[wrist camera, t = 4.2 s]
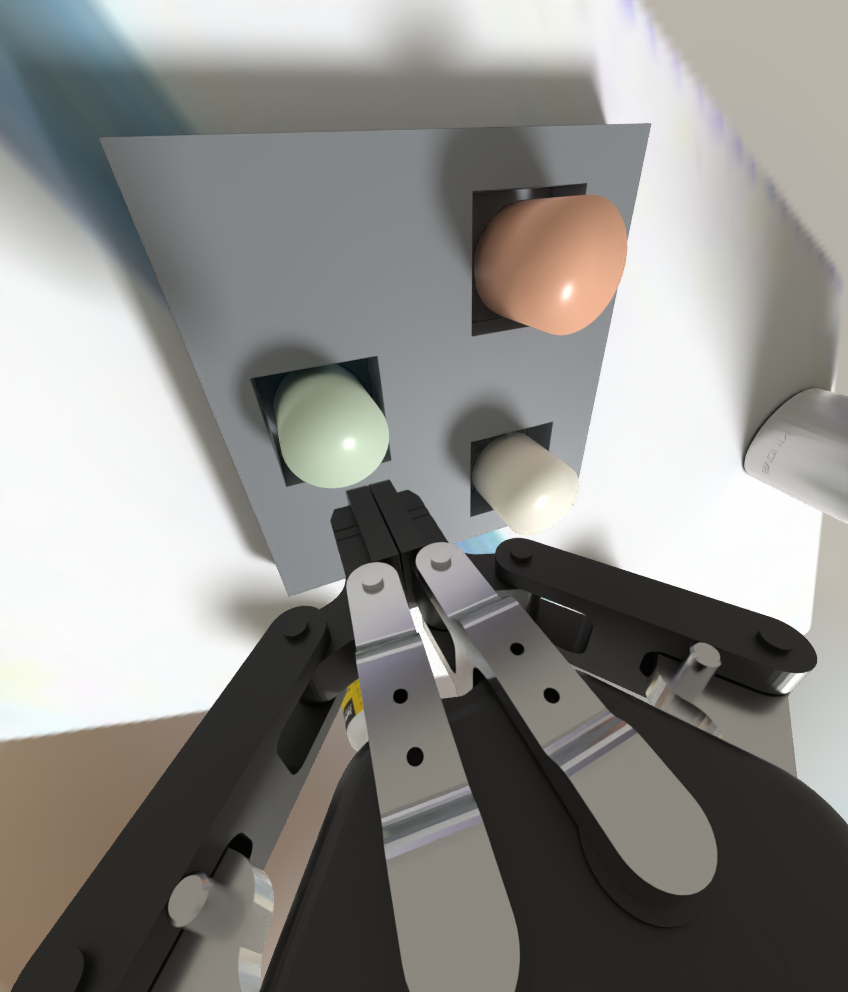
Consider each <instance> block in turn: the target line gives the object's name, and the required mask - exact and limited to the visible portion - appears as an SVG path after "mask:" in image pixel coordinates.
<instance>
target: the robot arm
mask: <svg viewBox="0 0 848 992" xmlns="http://www.w3.org/2000/svg"><path fill="white" fill-rule="evenodd" d="M744 468H745V471H746V473H747V474H748V475H750V476H752V477H754V478H756V479H758V480H760V481H762V482H764V483H766V484H768V485H770V486H772V487H774V488H776V489H778V490H780V491H782V492H784V493H786V494H788V495H790V496H792V497H794V498H796V499H798V500H800V501H802V502H804V503H806V504H808V505H810V506H812V507H814V508H816V509H818V510H820V511H822V512H824V513H826V514H828V515H830V516H832V517H834V518H836V519H838V520H840V521H842V522H844V523H846V524H848V397H847V396H844V395H840V394H837V393H834V392H830V391H827V390H823V389H820V388H811V389H807V390H804V391H802V392H800V393H798V394H797V395H795V396H794V397H792V398H791V399H789V400H788V401H787V402H785V403H784V404H783V405H782V406H781V407H779V408H778V409H777V410H776V411H775V412H774V413H773V414H772V415H771V416H770V418H769V419H768V420H767V421H766V422H765V424H764V425H763V426H762V427H761V429H760V430H759V432H758V433H757V435H756V436H755V438H754V439H753V441H752V443H751V445H750V447H749V449H748V452H747V454H746V458H745V464H744ZM346 497H347V501H348V505H349V506H345V507H341V508H337V509H334V511H333V514H332V517H331V520H330V522H331V526H332V529H333V533H334V536H335V540H336V544H337V547H338V551H339V555H340V558H341V562H342V565H343V569H344V573H345V576H346V582H345V586H344V588H343V590H342V592H341V593H340V594H339V596H338V597H337V598H336V599H334V600H333V601H332V602H331V603H329V604H328V605H326V606H324V607H323V608H321V609H320V610H318V609H317V608H314V607H311V606H299V607H295V608H292V609H290V610H287V611H286V612H284V613H282V614H281V615H280V616H279V617H277V618H276V619H275V620H274V622H273V623H272V624H271V626H270V627H269V628H268V630H267V631H266V632H265V634H264V635H263V637H262V638H261V639H260V641H259V642H258V644H257V645H256V646H255V648H254V649H253V651H252V652H251V653H250V655H249V656H248V657H247V659H246V660H245V662H244V663H243V664H242V666H241V667H240V669H239V670H238V671H237V673H236V674H235V675H234V677H233V678H232V680H231V681H230V682H229V684H228V685H227V687H226V688H225V689H224V691H223V692H222V693H221V695H220V696H219V698H218V699H217V700H216V702H215V703H214V705H213V706H212V707H211V709H210V710H209V712H208V713H207V714H206V716H205V717H204V719H203V720H202V721H201V723H200V724H199V725H198V727H197V728H196V730H195V731H194V732H193V734H192V735H191V737H190V738H189V739H188V741H187V742H186V743H185V745H184V746H183V748H182V749H181V750H180V752H179V753H178V754H177V756H176V757H175V759H174V760H173V761H172V763H171V764H170V766H169V767H168V768H167V770H166V771H165V773H164V774H163V775H162V777H161V778H160V780H159V781H158V782H157V784H156V785H155V787H154V788H153V789H152V791H151V792H150V793H149V795H148V796H147V798H146V799H145V800H144V802H143V803H142V804H141V806H140V807H139V809H138V810H137V811H136V813H135V814H134V816H133V817H132V818H131V820H130V821H129V823H128V824H127V825H126V827H125V828H124V829H123V831H122V832H121V833H120V835H119V836H118V838H117V839H116V840H115V842H114V843H113V845H112V846H111V847H110V849H109V850H108V852H107V853H106V854H105V856H104V857H103V858H102V860H101V861H100V863H99V864H98V865H97V867H96V868H95V870H94V871H93V872H92V874H91V875H90V876H89V878H88V879H87V881H86V882H85V883H84V885H83V886H82V888H81V889H80V890H79V892H78V893H77V895H76V896H75V897H74V899H73V900H72V902H71V903H70V904H69V906H68V907H67V908H66V910H65V911H64V913H63V914H62V915H61V917H60V918H59V919H58V921H57V922H56V924H55V925H54V927H53V928H52V929H51V931H50V932H49V933H48V935H47V936H46V938H45V939H44V940H43V942H42V943H41V945H40V946H39V947H38V949H37V950H36V952H35V953H34V954H33V955H32V957H31V958H30V960H29V961H28V963H27V964H26V966H25V967H24V969H23V970H22V972H21V974H20V975H19V977H18V979H17V981H16V983H15V984H14V986H13V988H12V990H11V992H848V824H847V823H846V822H845V821H844V819H843V818H842V817H841V816H840V815H839V814H838V813H837V812H836V811H835V810H834V809H833V808H832V807H831V806H830V805H829V804H828V803H827V802H826V801H825V800H824V799H823V798H822V797H821V796H819V795H818V794H817V793H816V792H815V791H814V790H812V789H811V788H810V787H808V786H807V785H806V784H804V783H803V782H802V781H801V780H799V779H798V778H797V772H796V764H795V755H794V746H793V737H792V729H791V720H790V712H789V702H788V695H789V694H790V693H791V691H792V690H793V689H794V688H795V687H796V686H797V685H798V684H799V683H800V682H801V681H802V680H803V679H804V678H805V677H806V676H807V675H808V674H809V673H810V672H811V670H812V669H813V668H814V667H815V666H816V664H817V655H816V652H815V650H814V648H813V647H812V645H811V644H810V642H809V641H808V640H807V639H806V638H805V637H804V636H803V635H802V634H801V633H799V632H798V631H797V630H795V629H794V628H792V627H791V626H789V625H788V624H786V623H784V622H782V621H780V620H777V619H775V618H772V617H769V616H766V615H763V614H759V613H756V612H753V611H750V610H747V609H744V608H741V607H738V606H735V605H731V604H728V603H725V602H722V601H719V600H716V599H713V598H710V597H706V596H703V595H700V594H697V593H694V592H691V591H688V590H685V589H682V588H678V587H675V586H672V585H669V584H666V583H663V582H660V581H657V580H654V579H650V578H647V577H644V576H641V575H638V574H635V573H632V572H629V571H625V570H622V569H619V568H616V567H613V566H610V565H607V564H604V563H601V562H597V561H594V560H591V559H588V558H585V557H582V556H579V555H576V554H572V553H569V552H566V551H563V550H560V549H557V548H554V547H551V546H548V545H544V544H541V543H538V542H535V541H532V540H529V539H524V538H512V539H508V540H505V541H504V542H502V543H501V544H499V546H498V547H497V549H496V552H495V554H467V553H464V552H463V551H462V550H461V549H460V548H459V547H458V546H456V545H454V544H451V543H449V542H448V541H447V539H446V538H445V536H444V534H443V533H442V531H441V530H440V528H439V527H438V525H437V523H436V522H435V520H434V519H433V517H432V516H431V515H430V512H429V511H428V509H427V508H426V507H425V504H424V503H423V501H422V500H421V498H420V497H419V496H418V495H417V494H415V493H413V492H412V491H410V490H404V491H400V492H397V491H396V489H395V488H394V486H393V484H392V482H391V481H390V479H388V480H384V481H380V482H377V483H373V484H369V485H368V486H367V485H365V486H361V487H358V488H354V489H350V490H346ZM541 597H542V598H545V599H548V600H550V601H553V602H555V603H558V604H561V605H563V606H566V607H568V608H571V609H574V610H576V611H579V612H581V613H583V614H585V615H587V616H585V615H582V614H579V613H577V612H574V611H572V610H569V609H566V608H564V607H561V606H559V605H556V604H553V603H551V602H548V601H546V600H543V599H541ZM417 606H418V608H419V610H420V612H421V614H422V620H423V627H424V629H425V631H426V633H427V635H428V637H429V639H430V641H431V642H432V644H433V646H434V648H435V650H436V652H437V653H438V655H439V657H440V659H441V661H442V663H443V665H444V666H445V668H446V670H447V672H448V674H449V676H450V677H451V679H452V681H453V684H454V686H455V689H456V692H457V696H458V697H452V698H444V699H441V698H440V695H439V692H438V688H437V686H436V682H435V679H434V676H433V673H432V670H431V667H430V664H429V661H428V658H427V655H426V651H425V648H424V645H423V642H422V639H421V637H420V635H419V633H417V632H416V630H415V627H414V623H413V620H412V617H411V614H410V611H409V609H411V608H414V607H417ZM408 607H409V608H408ZM569 663H570V664H572V665H574V666H576V667H579V668H581V669H583V670H586V671H588V672H590V673H592V674H594V675H596V676H599V677H601V678H603V679H605V680H608V681H610V682H612V683H614V684H617V685H619V686H621V687H623V688H626V689H628V690H630V691H632V692H635V693H637V694H639V695H641V696H643V697H646V698H648V700H649V702H650V704H651V705H650V704H648V703H646V702H644V701H642V700H640V699H638V698H636V697H634V696H631V695H630V694H627V693H625V692H623V691H621V690H619V689H617V688H615V687H613V686H611V685H609V684H607V683H605V682H603V681H601V680H599V679H597V678H594V677H592V676H590V675H588V674H586V673H583V672H580V671H578V670H575V669H573V668H572V666H571V665H570V664H569ZM358 678H359V682H360V689H361V695H362V701H363V707H364V714H365V720H366V726H367V733H368V739H369V740H368V741H367V742H366V743H365V744H364V745H363V746H362V747H361V748H360V750H359V751H358V752H357V753H356V755H355V756H354V757H353V759H352V760H351V761H350V763H349V764H348V766H347V768H346V769H345V771H344V773H343V775H342V777H341V779H340V781H339V783H338V785H337V788H336V790H335V793H334V795H333V798H332V800H331V803H330V806H329V808H328V811H327V814H326V817H325V819H324V822H323V824H322V827H321V829H320V832H319V835H318V837H317V840H316V843H315V845H314V848H313V851H312V853H311V856H310V859H309V861H308V864H307V867H306V869H305V872H304V875H303V877H302V880H301V882H300V885H299V888H298V890H297V893H296V895H295V898H294V901H293V903H292V906H291V909H290V912H289V914H288V917H287V919H286V922H285V924H284V927H283V930H282V932H281V935H280V938H279V940H278V943H277V946H276V948H275V951H274V953H273V956H272V959H271V961H270V964H269V967H268V969H267V972H266V974H265V977H264V980H263V982H262V981H261V959H262V952H263V947H264V942H265V940H266V936H267V933H268V930H269V927H270V924H271V920H272V915H273V907H274V894H273V888H272V885H271V882H270V880H269V878H268V876H267V874H266V873H265V872H264V871H263V870H264V868H265V865H266V863H267V861H268V859H269V857H270V855H271V853H272V851H273V849H274V846H275V844H276V842H277V840H278V838H279V836H280V833H281V831H282V829H283V827H284V825H285V823H286V821H287V819H288V817H289V814H290V812H291V810H292V808H293V806H294V804H295V802H296V800H297V797H298V795H299V793H300V791H301V789H302V787H303V785H304V782H305V780H306V778H307V776H308V774H309V772H310V770H311V768H312V766H313V763H314V761H315V759H316V757H317V755H318V753H319V751H320V749H321V746H322V744H323V742H324V740H325V738H326V736H327V734H328V731H329V729H330V727H331V725H332V723H333V721H334V719H335V716H336V714H337V712H338V710H339V708H340V706H341V704H342V702H343V700H344V697H345V695H346V692H347V687H348V686H350V685H351V684H352V683H353V682H355V681H356V680H357V679H358Z"/></svg>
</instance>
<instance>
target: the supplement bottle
mask: <svg viewBox="0 0 848 992" xmlns="http://www.w3.org/2000/svg"><path fill="white" fill-rule="evenodd" d="M341 706H342V711H343V715H344V721H345V726H346V731H347V735H348V739H349V742H350V744H351V746H352V747H353V748H354V749H355V750H357V751H359V750H360V748H361V747H362V746H363V745H364V744H365V743H366V742H367V741H368V740H369V739H368V733H367V726H366V720H365V714H364V707H363V701H362V695H361V689H360V682H359V678H358V679H357V680H356V681H355V682H353V683H352V684H351V685H350V686H348V687H347V692H346V695H345V697H344V700H343V702H342V704H341Z"/></svg>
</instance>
